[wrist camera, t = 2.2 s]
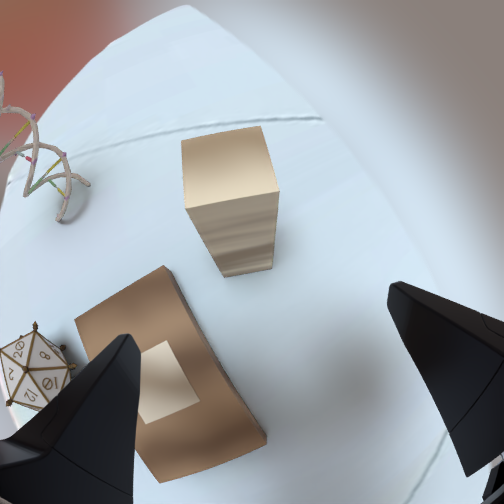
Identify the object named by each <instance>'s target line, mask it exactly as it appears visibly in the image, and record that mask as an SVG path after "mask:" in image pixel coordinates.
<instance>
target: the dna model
mask: <svg viewBox="0 0 504 504" xmlns="http://www.w3.org/2000/svg"><path fill="white" fill-rule="evenodd" d="M2 73H3V71H2V72H0V115H1V113H20V114H21V115H22V116H24V117H25V118H26V119H28V120H29V121H28V122H27V123H26V124H25V125H24V126H23V127H22V128H21V129H20V130H19V131H18V133H17V134H16V135H15V136H14V137H15V138H16V136H17V135H19V134H20V133H21V131H23V130H24V129H25V128H26V127H27V126H28V125H29V124H31V127H32V131H33V143H31V144H26V145H23V146H21V147H18V148H16V149H14V150H12V151H10V152H8V153H6V154H5V155H3V156H1V157H0V163H1V162H2V161H3V160H6V159H7V158H9V157H11V156H13V155H17V154H18V155H20V156H22V157H25V156H24V154H22V153H21V152H22V151H25V150H27V149H30V148H33V151H32V158H30V157H28V156H26V157H25V158H26V160H28V161H30V162H31V166H30V171H29V176H28V179H27V182H26V185H25V189H24V193H23V197H28V196H29V195H30V194H31V193H32V192H33V191H35V190H36V189H37V188H39V187H40V186H41V185H43V184H44V183H46V182H48V181H49V182H50V183H51V184H52V185H53V186H54V187H56V185H55V184H54V183H53V182H52V181H51V180H52V179H56V178H60V177H66V191H65V194H64V193H63V192H62V191H61V190H60V189H59V188H57V187H56V188H57V189H58V191H59V192H60V193H61V194H62V195H63V196H64V202H63V205H62V209H61V212H60V213H59V214H57V217H56V220H55V221H57V222H59V221H60V220H61V219H62V217H63V216H64V213H65V211H66V208H67V205H68V202H69V198H70V194H71V178H75V179H78V180H79V181H81V182H82V183H84V184H85V185H86V186H90V183H89V182H88V181H86V180H85V179H84V178H82V177H81V176H80V175H78V174H75V173H71V170H70V167H69V164H68V161H67V158H66V153H65V152H62V151H61V150H60V149H58V148H57V147H56V146H53V145H48V144H44V143H40V142H39V133H38V126H37V124H36V122H35V120H34V119H35V114H30V113H28V112H27V111H25V110H23V109H21V108H20V107H10V105H8V106H7V107H6V108H2V104H3V99H4V79H3V75H2ZM11 140H12V139H11ZM11 140H10V141H9V142H8V143H7V145H6V146H5V147H4V148H3V149H2V150H1V152H0V155H1V154H2V153H3V152H4V150H5V149H6V148H7V147H8V146H9V145H10V142H11ZM39 148H46V149H49V150H52V151H54V152H55V153H56V154H57V155H58V156H59V157H60V159H59V160H58V161H57V162H56V163H55V164H54V165H53V166H52V167H51V168H50V169H49V170H48V171H47V172H48V173H49V172H50V171H51V170H52V169H53V168H54V167H55V166H56V165H57V164H58V163H59V162H60V161H61V160H62V162H63V165H64V169H65V172H63V173H58V174H54V175H51V176H48V177H47V178H45V179H44V180H42V179H43V178H44V177H45V175H46V174H48V173H47V172H46V173H45V174H44V175H43V176H42V177H41V178H40V179H39V180H38V181H37V182H36V184H35V185H33V186H32V187H31V188H30V186H31V183H32V180H33V176H34V171H35V167H36V163H37V158H38V151H39Z"/></svg>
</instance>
